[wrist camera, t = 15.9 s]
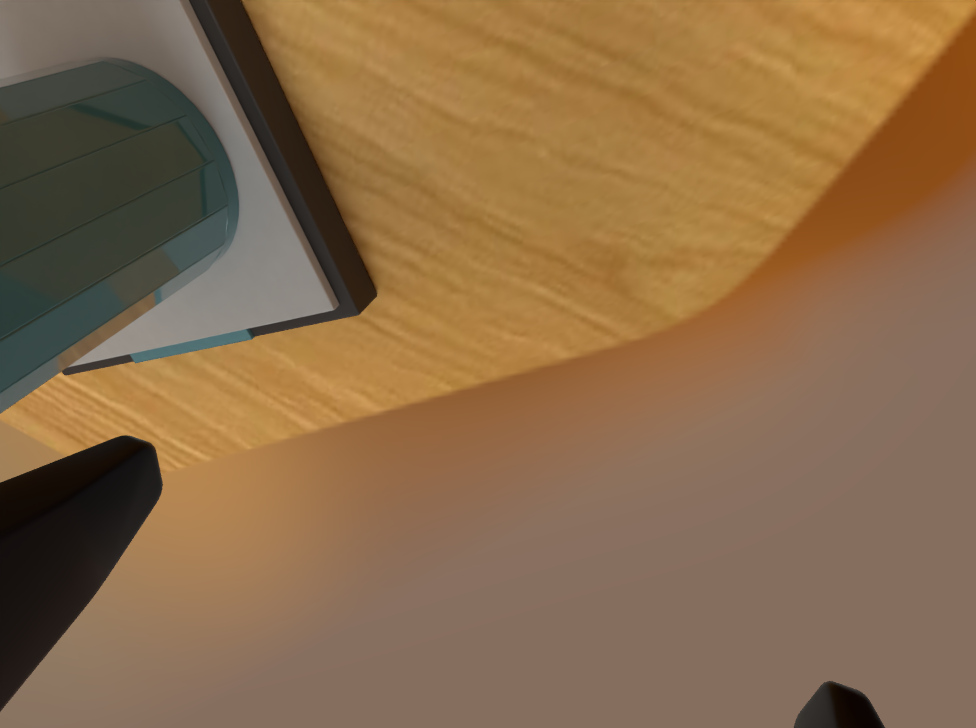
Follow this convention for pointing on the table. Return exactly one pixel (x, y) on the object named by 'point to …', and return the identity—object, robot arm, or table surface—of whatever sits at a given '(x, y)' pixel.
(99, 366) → the scale
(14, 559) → the robot arm
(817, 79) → the table surface
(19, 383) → the tumbler
